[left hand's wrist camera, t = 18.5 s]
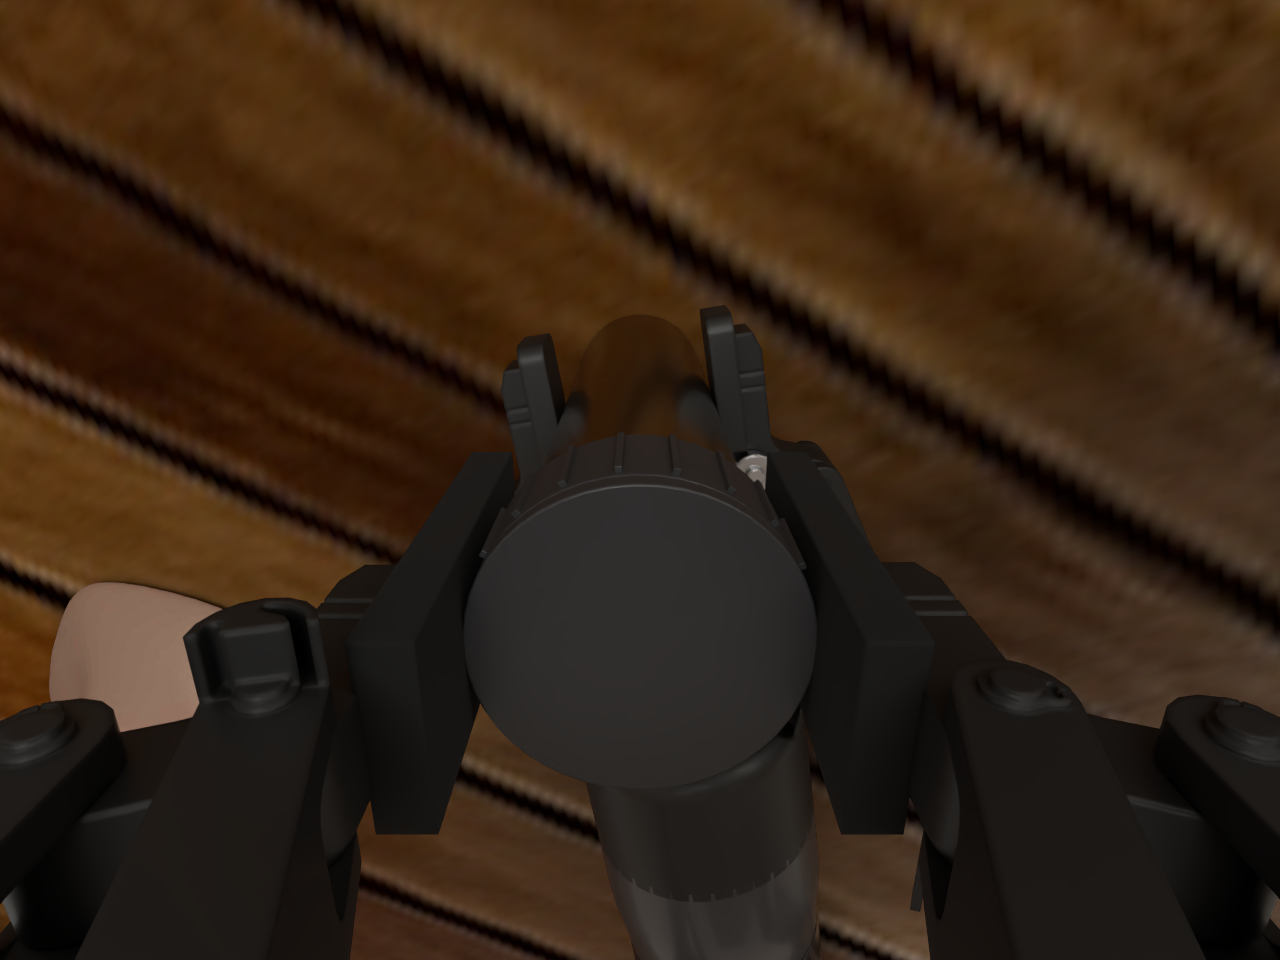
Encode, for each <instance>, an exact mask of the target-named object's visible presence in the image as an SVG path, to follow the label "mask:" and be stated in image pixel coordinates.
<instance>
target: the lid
mask: <svg viewBox="0 0 1280 960" xmlns="http://www.w3.org/2000/svg"><path fill="white" fill-rule="evenodd" d="M479 557H482V558H484V560H483V562H482V564H481V566H480V569H479V571H478V573H477V575H476V578H475V580H474V583H473V585H472V587H471V590H470V592H469V595H468V599H467V603H466V607H465V612H464V618H463V644H464V654H465V663H466V668H467V672H468V676H469V678H470V681H471V684H472V686H473V689H474V691H475V694H476V696H477V697H478V699H479V701H480V703H481V705H482V707H483V708H484V710H485V712H486V713H487V714H488V716H489V717H490V718H491V720H492V721H493V722H494V724H495V725H496V726H497V728H498V729H499V730H500V731H501V732H502V733H503V734H504V735H505V736H506V737H507V738H508V739H509V740H510V741H511V742H512V743H514V744H515V745H516V746H517V747H519V748H520V749H521V750H522V751H523V752H525V753H526V754H527V755H529V756H530V757H532V758H534V759H535V760H537V761H538V762H540V763H542V764H543V765H545V766H547V767H549V768H551V769H553V770H555V771H558V772H560V773H562V774H564V775H567V776H570V777H573V778H575V779H578V780H581V781H584V782H589V783H593V784H597V785H601V786H607V787H615V788H623V789H655V788H667V787H673V786H678V785H684V784H689V783H692V782H695V781H699V780H702V779H705V778H709V777H711V776H714V775H716V774H718V773H721V772H723V771H725V770H728V769H730V768H731V767H733V766H735V765H737V764H739V763H740V762H742V761H744V760H746V759H747V758H749V757H750V756H751V755H753V754H754V753H756V752H757V751H758V750H760V749H761V748H762V747H764V746H765V745H766V744H767V743H768V742H769V741H770V740H771V739H772V738H773V737H774V736H775V735H777V734H778V733H779V731H780V730H781V729H782V728H783V727H784V725H785V724H786V723H787V722H788V721H789V719H790V718H791V717H792V715H793V714H794V712H795V710H796V709H797V707H798V706H799V704H800V702H801V701H802V699H803V697H804V694H805V692H806V690H807V688H808V685H809V683H810V680H811V677H812V673H813V669H814V660H815V651H816V640H817V627H818V621H817V615H816V610H815V604H814V600H813V597H812V595H811V592H810V589H809V586H808V583H807V581H806V578H805V576H804V574H803V572H802V570H804V569H806V568H807V566H806V564H805V562H804V560H803V557H802V555H801V553H800V551H799V549H798V547H797V544H796V542H795V540H794V538H793V536H792V534H791V531H790V529H789V527H788V525H787V523H786V521H785V518H781V519H779V518H778V516H777V514H776V512H775V510H774V508H773V506H772V504H771V503H770V501H769V499H768V497H767V494H766V492H765V490H764V487H763V485H762V483H761V482H760V481H759V480H758V479H757V480H756V481H755V482H754V481H753V480H752V479H751V478H750V477H749V476H748V475H747V474H746V473H744V472H743V471H742V470H741V469H739V468H738V467H737V466H736V465H734V464H733V463H732V462H730V461H729V460H727V459H726V458H725V455H724V453H723V452H721V451H720V450H718V451H717V453H715V452H713V451H711V450H709V449H706V448H704V447H702V446H699V445H697V444H694V443H691V442H687V441H684V440H680V439H677V437H676V435H675V434H669V437H665V436H658V435H635V434H634V435H625V433H624V432H618V433H617V436H614V437H609V438H605V439H600V440H596V441H592V442H590V443H587V444H584V445H581V446H579V447H575V445H574V444H573V445H571V446H569V447H568V449H567V452H566V453H564V454H562V455H560V456H558V457H556V458H555V459H553V460H552V461H550V462H549V463H548V464H546V465H545V466H543V467H542V468H541V469H539V470H538V471H537V472H536V473H534V472H533V471H531V472H529V473H528V474H527V477H526V479H525V481H524V484H523V486H522V487H521V489H520V490H519V491H518V492H517V494H516V495H515V496H514V497H513V499H512V501H511V502H510V504H509V506H508V507H507V509H505V508H503V507H501V509H500V511H499V513H498V515H497V518H496V520H495V522H494V524H493V526H492V528H491V531H490V533H489V535H488V537H487V539H486V541H485V544H484V546H483V548H482V550H481V552H480V554H479Z"/></svg>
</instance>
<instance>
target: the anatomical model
mask: <svg viewBox="0 0 1280 960" xmlns="http://www.w3.org/2000/svg"><path fill="white" fill-rule="evenodd" d="M220 610H223V609H221V608H219V607H216V606H214V605H211V604H208V603H205V602H202V601H200V600H197V599H193V598H190V597H186V596H183V595H179V594H175V593H172V592H168V591H163V590H159V589H154V588H150V587H145V586H139V585H132V584H126V583H117V582H105V583H96V584H91V585H88V586H86V587H84V588H82V589H81V590H79V591H78V592H77V593H76V594H75V595H74V597H73V598H72V599H71V601H70V602H69V604H68V606H67V608H66V610H65V612H64V615H63V617H62V620H61V623H60V626H59V630H58V633H57V636H56V640H55V643H54V647H53V650H52V657H51V665H50V680H49V691H50V697H51V701H62V700H70V699H79V698H85V699H92V700H99V701H103V702H104V703H106V704H107V705H108V706H110V707H111V708H112V709H113V710H114V713H115V716H116V719H117V723H118V726H119V729H120V732H124V731H129V730H134V729H139V728H144V727H149V726H154V725H159V724H164V723H169V722H174V721H179V720H183V719H186V718H190V717H193V715H194V713H195V711H196V709H197V707H198V705H199V700H198V696H197V692H196V688H195V684H194V680H193V676H192V673H191V669H190V665H189V661H188V657H187V653H186V649H185V645H184V641H183V636H184V635H185V634H186V633H187V632H188V631H189V630H190V629H191V628H192V627H193V626H194V625H195V624H196V623H198V622H199V621H201V620H203V619H204V618H206V617H208V616H210V615H211V614H213V613H215V612H217V611H220Z"/></svg>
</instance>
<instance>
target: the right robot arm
mask: <svg viewBox="0 0 1280 960" xmlns="http://www.w3.org/2000/svg"><path fill="white" fill-rule="evenodd" d="M700 318H701V326H702V334H703V341H704V349H705V357H706V365H707V372H708V380H709V388H710V394H711V396H712V399H713V402H714V404H715V407H716V410H717V412H718V415H719V418H720V420H721V423H722V426H723V428H724V431H725V434H726V436H727V439H728V442H729V444H730V447H731V450H732V452H733V455H734V458H735V460H736V463H737V466H738V468H739V469H741V470H742V471H743V472H744V473H746V474H747V475H748V476H749V477H750V478H751V479H752V480H753V481H754V482H755V481H756V480H757V479H758V480H759V481H760V482H761V483H762V485H763V487H764V490H765V481H766V466H767V452H807V453H808V455H809V456H810V458H811V459H812V461H813V462H814V464H815V465H816V467H817V468H818V470H819V471H820V473H821V474H822V476H823V477H824V479H825V480H826V482H827V483H828V484H829V486H830V487H831V489H832V490H833V492H834V493H835V495H836V496H837V498H838V499H839V501H840V502H841V504H842V505H843V507H844V508H845V510H846V511H847V513H848V514H849V516H850V517H851V519H852V520H853V522H854V523H855V524H856V526H857V527H858V529H859V530H860V532H861V533H862V535H863V536H864V538H865V539H866V541H867V542H868V544H869V545H870V543H869V540H868V538H867V536H866V533H865V531H864V528H863V526H862V524H861V521H860V519H859V516H858V514H857V512H856V509H855V507H854V505H853V502H852V500H851V497H850V495H849V493H848V490H847V488H846V485H845V483H844V481H843V478H842V477H841V475H840V474H839V472H838V471H837V470H836V468H835V467H834V465H833V464H832V463H831V461H830V460H829V459H828V457H827V456H826V455H825V453H824V452H823V451H822V449H821V448H820V447H819V446H818V445H817V444H816V443H814V442H811V441H800V442H797V443H793V442H788V441H782V440H779V439H776V438H774V437H773V436H771V434H770V425H769V416H768V406H767V396H766V387H765V377H764V367H763V357H762V349H761V347H760V345H759V344H758V342H757V340H756V338H755V336H754V334H753V332H752V331H751V330H750V329H749V328H748V327H747V325H746V324H740V325H733V320H732V316H731V312H730V311H729V310H728V308H727V307H726V306H725V305H723V306H717V307H710V308H704V309H700ZM517 357H518V360H514V361H512V362H511V363H510V365H509V366H508V367H507V368H506V369H505V371H504V374H503V381H502V387H501V393H502V397H503V402H504V406H505V410H506V414H507V419H508V423H509V425H510V431H511V436H512V440H513V444H514V448H515V453H516V457H517V461H518V465H519V470H520V478H519V479H517V480H516V481H514V489H515V495H516V494H517V492H518V491H519V490H520V489H521V487H522V486H523V484H524V481H525V479H526V477H527V474H528V473H529V472H531V471H533V472H534V473H536V472H537V471H538V470H539V469H541V468H542V467H543V464H544V462H545V459H546V456H547V454H548V451H549V448H550V446H551V443H552V440H553V438H554V435H555V432H556V430H557V427H558V424H559V422H560V419H561V416H562V414H563V411H564V408H565V405H566V403H565V398H564V393H563V388H562V384H561V379H560V374H559V369H558V364H557V359H556V354H555V349H554V345H553V341H552V338H551V335H550V334H549V333H548V334H542V335H536V336H530V337H525V338H524V339H523V340H522V341H521V342H520V344H519V345H518V347H517ZM870 547H871V545H870ZM586 784H587V788H588V793H589V797H590V801H591V805H592V809H593V814H594V818H595V822H596V826H597V830H598V834H599V838H600V843H601V847H602V851H603V856H604V860H605V864H606V868H607V873H608V877H609V881H610V885H611V888H612V891H613V895H614V898H615V902H616V905H617V907H618V910H619V912H620V915H621V917H622V919H623V921H624V923H625V926H626V928H627V930H628V932H629V935H630V938H631V943H632V947H633V952H634V956H635V960H822V953H821V944H820V934H819V925H818V915H817V904H816V901H817V892H818V877H819V860H818V847H817V837H816V827H815V816H814V806H813V797H812V787H811V776H810V766H809V756H808V746H807V736H806V726H805V719H804V716H803V713H802V710H801V707H800V704H799V706H798V707H797V709H796V710H795V712H794V714H793V715H792V717H791V718H790V719H789V721H788V722H787V723H786V724H785V725H784V727H783V728H782V729H781V730H780V731H779V733H778V734H777V735H775V736H774V737H773V738H772V739H771V740H770V741H769V742H768V743H767V744H766V745H765V746H764V747H762V748H761V749H760V750H758V751H757V752H756V753H754V754H753V755H751V756H750V757H749V758H747V759H746V760H744V761H742V762H740V763H739V764H737V765H735V766H733V767H731V768H730V769H728V770H725V771H723V772H721V773H718V774H716V775H714V776H711V777H709V778H705V779H702V780H699V781H695V782H692V783H689V784H684V785H678V786H673V787H667V788H655V789H623V788H615V787H607V786H601V785H597V784H593V783H589V782H586Z"/></svg>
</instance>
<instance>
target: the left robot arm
mask: <svg viewBox="0 0 1280 960" xmlns="http://www.w3.org/2000/svg"><path fill="white" fill-rule="evenodd" d="M765 492H766V494H767V497H768V499H769V501H770V503H771V504H772V506H773V508H774V510H775V512H776V514H777V516H778V518H779V519H781V518H785V521H786V523H787V525H788V527H789V529H790V531H791V534H792V536H793V538H794V540H795V542H796V544H797V547H798V549H799V551H800V553H801V555H802V557H803V560H804V562H805V564H806V566H807V568H806V569H804V570H802V572H803V574H804V576H805V578H806V581H807V583H808V586H809V589H810V592H811V595H812V597H813V600H814V604H815V610H816V615H817V621H818V627H817V640H816V651H815V660H814V669H813V673H812V677H811V680H810V683H809V685H808V688H807V690H806V692H805V694H804V697H803V699H802V701H801V702H800V707H801V710H802V713H803V716H804V719H805V722H806V725H807V729H808V732H809V735H810V738H811V741H812V744H813V747H814V750H815V754H816V757H817V760H818V763H819V766H820V769H821V772H822V775H823V779H824V782H825V785H826V788H827V791H828V794H829V797H830V800H831V804H832V807H833V810H834V813H835V816H836V819H837V822H838V825H839V829H840V832H841V834H904V828H905V822H906V816H907V810H908V804H909V798H911V801H912V803H913V805H914V807H915V809H916V812H917V814H918V816H919V818H920V820H921V823H922V825H923V827H924V831H923V837H922V842H921V848H920V854H919V859H918V865H917V871H916V876H915V882H914V888H913V893H912V900H911V907H910V910H914V911H919V912H920V909H921V904H922V899H923V901H924V909H925V918H926V926H927V934H928V942H929V951H930V959H931V960H1280V929H1279V928H1278V927H1277V926H1276V925H1275V924H1274V922H1273V921H1272V920H1271V919H1270V917H1271V914H1272V912H1273V910H1274V907H1275V905H1276V902H1277V900H1278V898H1279V899H1280V717H1278V716H1276V715H1274V714H1271V713H1269V712H1267V711H1265V710H1263V709H1262V708H1260V707H1258V706H1256V705H1252V704H1249V703H1246V702H1239V700H1235V699H1231V698H1226V697H1214V696H1205V695H1193V696H1185V697H1178V698H1177V699H1175V700H1174V701H1173V702H1171V703H1170V704H1169V705H1167V708H1166V711H1165V714H1164V717H1163V721H1162V724H1161V727H1160V729H1158V728H1153V727H1148V726H1143V725H1138V724H1133V723H1127V722H1122V721H1117V720H1112V719H1107V718H1102V717H1098V716H1094V715H1091V714H1087V713H1086V712H1085V709H1084V707H1083V705H1082V703H1081V702H1080V700H1079V699H1078V698H1077V697H1076V695H1075V694H1074V693H1073V692H1072V690H1071V689H1070V688H1069V687H1068V686H1066V685H1065V684H1063V683H1062V682H1060V681H1059V680H1057V679H1056V678H1055V677H1053V676H1052V675H1050V674H1048V673H1046V672H1043V671H1041V670H1038V669H1036V668H1034V667H1031V666H1029V665H1027V664H1022V663H1018V662H1013V661H1009V660H1006V659H1005V658H1004V657H1003V655H1002V654H1001V653H1000V652H999V650H998V649H997V648H996V647H995V645H994V644H993V643H992V642H991V640H990V639H989V638H988V637H987V635H986V634H985V633H984V632H983V630H982V629H981V628H980V627H979V625H978V624H977V623H976V622H975V621H974V619H973V618H972V617H971V616H968V612H967V611H966V609H965V608H964V607H963V606H962V604H961V603H960V602H959V601H958V600H955V596H954V594H953V593H952V592H951V591H950V589H949V588H948V587H947V586H946V585H945V583H944V582H943V581H942V580H941V578H939V577H938V576H936V575H934V574H933V573H931V572H929V571H928V570H926V569H924V568H923V567H921V566H919V565H918V564H916V563H915V562H880V560H879V559H878V557H877V556H876V554H875V553H874V551H873V550H872V548H871V547H870V545H869V544H868V542H867V541H866V539H865V538H864V536H863V535H862V533H861V532H860V530H859V529H858V527H857V526H856V524H855V523H854V522H853V520H852V519H851V517H850V516H849V514H848V513H847V511H846V510H845V508H844V507H843V505H842V504H841V502H840V501H839V499H838V498H837V496H836V495H835V493H834V492H833V490H832V489H831V487H830V486H829V484H828V483H827V482H826V480H825V479H824V477H823V476H822V474H821V473H820V471H819V470H818V468H817V467H816V465H815V464H814V462H813V461H812V459H811V458H810V456H809V455H808V453H807V452H767V466H766V481H765ZM514 496H515V489H514V473H513V458H512V452H473V453H472V454H471V456H470V457H469V459H468V460H467V462H466V463H465V465H464V466H463V467H462V469H461V470H460V472H459V473H458V475H457V476H456V478H455V479H454V481H453V482H452V484H451V485H450V487H449V488H448V490H447V491H446V493H445V494H444V496H443V497H442V499H441V500H440V502H439V503H438V505H437V506H436V507H435V509H434V510H433V512H432V513H431V515H430V516H429V518H428V519H427V521H426V522H425V524H424V525H423V527H422V528H421V530H420V531H419V533H418V534H417V536H416V537H415V539H414V540H413V542H412V543H411V544H410V546H409V547H408V549H407V550H406V552H405V553H404V555H403V556H402V558H401V559H400V561H399V562H398V564H397V565H364V566H363V567H361V568H359V569H358V570H356V571H355V572H353V573H351V574H350V575H348V576H346V577H345V578H343V579H341V580H340V581H339V582H338V583H337V584H336V586H335V587H334V588H333V589H332V591H331V592H330V593H329V594H328V596H327V597H326V598H325V602H324V603H321V604H320V606H319V607H318V608H317V609H316V608H315V607H313V606H312V605H311V604H309V603H308V602H307V601H302V600H297V599H292V598H264V599H259V600H254V601H249V602H244V603H239V604H237V605H234V606H231V607H228V608H225V609H223V610H220V611H217V612H215V613H213V614H211V615H210V616H208V617H206V618H204V619H203V620H201V621H199V622H198V623H196V624H195V625H194V626H193V627H192V628H191V629H190V630H189V631H188V632H187V633H186V634H185V635H184V636H183V641H184V645H185V649H186V653H187V657H188V661H189V665H190V669H191V673H192V676H193V680H194V684H195V688H196V692H197V696H198V700H199V705H198V707H197V709H196V711H195V713H194V715H193V717H190V718H186V719H183V720H179V721H174V722H169V723H164V724H159V725H154V726H149V727H144V728H139V729H134V730H129V731H124V732H120V729H119V726H118V723H117V719H116V716H115V713H114V710H113V709H112V708H111V707H110V706H108V705H107V704H106V703H104V702H103V701H99V700H92V699H85V698H79V699H70V700H62V701H52V702H48V703H43V704H42V705H41V706H38V705H36V706H33V707H30V708H27V709H24V710H22V711H20V712H18V713H17V714H15V715H13V716H11V717H8V718H6V719H4V720H2V721H0V904H1V903H2V902H3V904H4V906H5V909H6V911H7V914H8V916H9V918H10V921H11V922H10V923H9V924H8V925H7V926H6V927H5V929H4V930H3V931H2V932H1V933H0V960H350V952H351V944H352V936H353V928H354V919H355V911H356V903H357V895H358V886H359V878H360V870H361V855H360V848H359V842H358V837H357V831H356V830H357V827H358V825H359V823H360V821H361V819H362V816H363V814H364V812H365V810H366V808H367V805H368V803H369V801H371V807H372V813H373V819H374V825H375V831H376V834H438V833H439V830H440V827H441V824H442V821H443V818H444V815H445V812H446V808H447V805H448V802H449V799H450V796H451V793H452V790H453V787H454V783H455V780H456V777H457V774H458V771H459V768H460V765H461V762H462V758H463V755H464V752H465V749H466V746H467V743H468V740H469V737H470V733H471V730H472V727H473V724H474V721H475V718H476V715H477V712H478V708H479V705H480V701H479V699H478V697H477V696H476V694H475V691H474V689H473V686H472V684H471V681H470V678H469V676H468V672H467V668H466V663H465V654H464V644H463V618H464V612H465V607H466V603H467V599H468V595H469V592H470V590H471V587H472V585H473V583H474V580H475V578H476V575H477V573H478V571H479V569H480V566H481V564H482V562H483V560H484V558H482V557H479V554H480V552H481V550H482V548H483V546H484V544H485V541H486V539H487V537H488V535H489V533H490V531H491V528H492V526H493V524H494V522H495V520H496V518H497V515H498V513H499V511H500V509H501V507H503V508H505V509H507V507H508V506H509V504H510V502H511V501H512V499H513V497H514Z"/></svg>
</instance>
